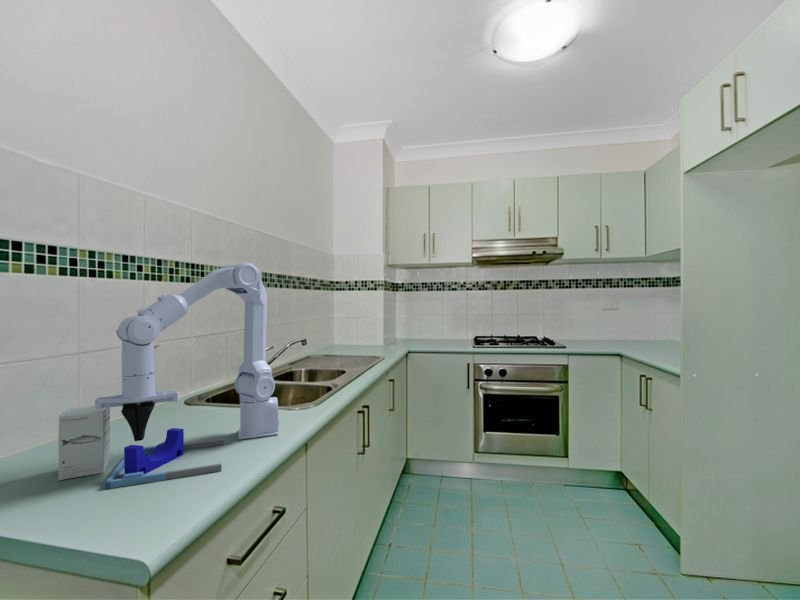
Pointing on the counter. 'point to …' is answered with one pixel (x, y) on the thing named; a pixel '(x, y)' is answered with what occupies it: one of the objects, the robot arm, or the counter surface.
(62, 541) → the counter surface
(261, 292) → the robot arm
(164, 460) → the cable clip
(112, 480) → the blue grey open frame
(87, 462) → the supplement box
